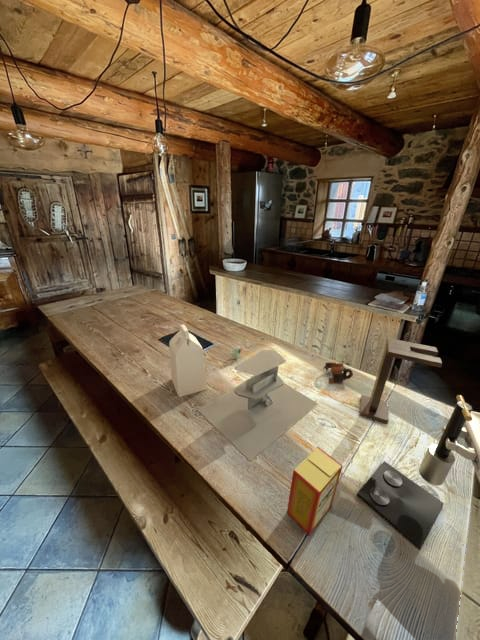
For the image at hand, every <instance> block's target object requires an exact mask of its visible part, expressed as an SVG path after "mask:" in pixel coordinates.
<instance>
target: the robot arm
mask: <svg viewBox="0 0 480 640" xmlns="http://www.w3.org/2000/svg"><path fill="white" fill-rule="evenodd" d="M470 414H471V416H472V420H471V421H466V423H465V425H464V427H463V429H462V431H461V433H460V434H459V436H458V438H460V439H463V441H464V444H465V446H464V445H462V444H460V443H458V440H452V439H449V438H448V439H446V441H445V444H446V448H447V449H450V450H451V451H454V452H455V453H456V454H458V455H460V456H461V457H463V458H465V459H466V460H469V461H471V463H472V466H473V468H474V471H475V474H476V477H477V479H478V482H479V483H480V412H478V411H474V410H472V411H471V413H470ZM445 428H446V425H442V427H441V433H442V434H443V432H444V430H445ZM442 434H441V435H442Z"/></svg>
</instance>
